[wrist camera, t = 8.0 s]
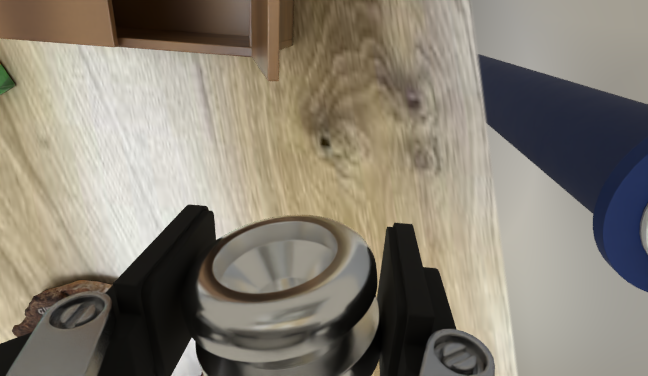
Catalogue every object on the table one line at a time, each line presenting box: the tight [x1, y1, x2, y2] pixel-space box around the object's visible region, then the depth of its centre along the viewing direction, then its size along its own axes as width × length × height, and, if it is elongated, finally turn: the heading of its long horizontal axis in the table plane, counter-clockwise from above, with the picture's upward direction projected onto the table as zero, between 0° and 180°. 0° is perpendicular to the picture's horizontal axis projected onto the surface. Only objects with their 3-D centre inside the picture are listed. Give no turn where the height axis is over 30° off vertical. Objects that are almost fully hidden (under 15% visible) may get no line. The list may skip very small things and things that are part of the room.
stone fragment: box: [12, 280, 112, 337], centre depth 43 cm, size 16×13×4 cm
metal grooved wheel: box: [180, 215, 382, 376], centre depth 10 cm, size 5×3×5 cm, turn 97°
